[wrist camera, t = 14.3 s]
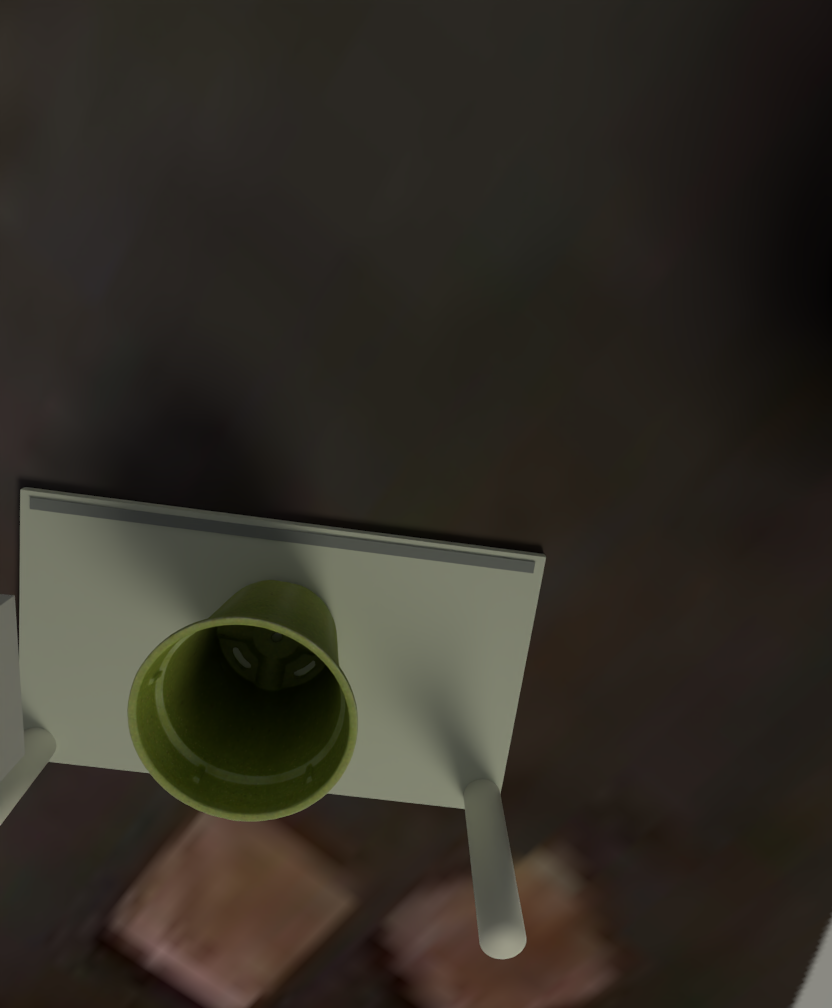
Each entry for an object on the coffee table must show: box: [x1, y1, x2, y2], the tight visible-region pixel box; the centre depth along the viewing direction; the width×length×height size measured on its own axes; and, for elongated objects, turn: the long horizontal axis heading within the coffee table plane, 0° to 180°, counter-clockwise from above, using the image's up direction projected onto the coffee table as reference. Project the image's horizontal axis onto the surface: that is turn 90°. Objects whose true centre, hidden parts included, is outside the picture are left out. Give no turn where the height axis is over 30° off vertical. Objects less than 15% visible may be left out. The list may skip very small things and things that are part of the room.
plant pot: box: [127, 580, 358, 821], centre depth 37 cm, size 9×9×9 cm
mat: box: [0, 487, 546, 959], centre depth 37 cm, size 26×15×10 cm, turn 82°
